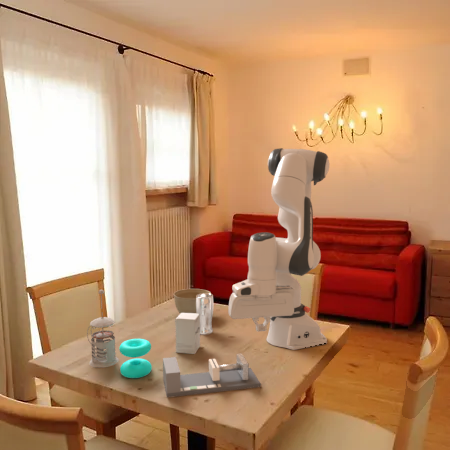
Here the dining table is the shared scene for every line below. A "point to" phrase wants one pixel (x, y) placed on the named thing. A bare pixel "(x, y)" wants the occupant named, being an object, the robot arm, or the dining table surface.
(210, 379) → the frame
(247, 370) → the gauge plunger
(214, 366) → the gauge pointer
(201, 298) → the beer glass
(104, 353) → the french press
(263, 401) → the dining table surface
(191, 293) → the planter bowl
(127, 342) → the donuts
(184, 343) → the supplement box
